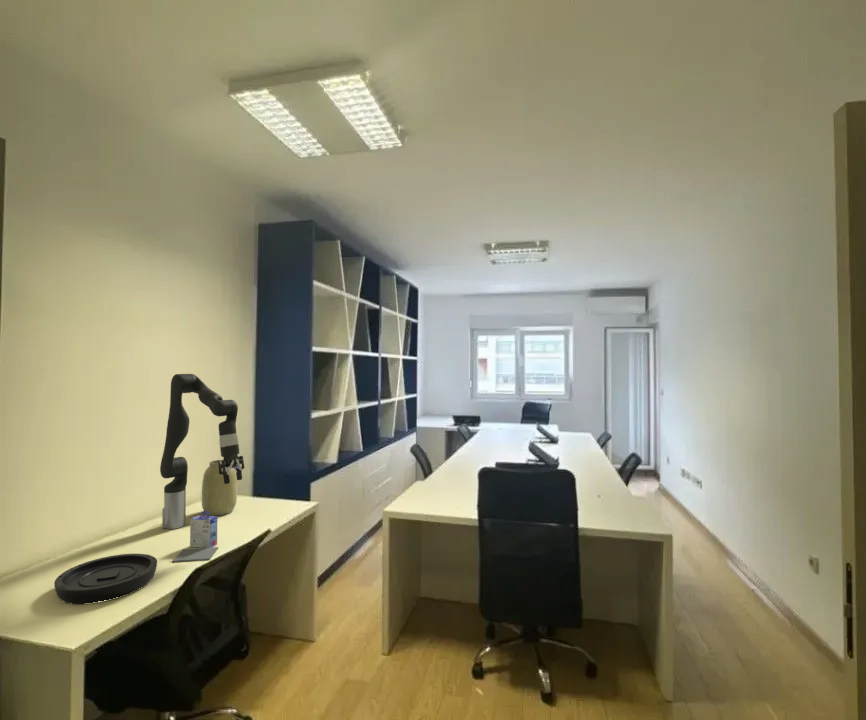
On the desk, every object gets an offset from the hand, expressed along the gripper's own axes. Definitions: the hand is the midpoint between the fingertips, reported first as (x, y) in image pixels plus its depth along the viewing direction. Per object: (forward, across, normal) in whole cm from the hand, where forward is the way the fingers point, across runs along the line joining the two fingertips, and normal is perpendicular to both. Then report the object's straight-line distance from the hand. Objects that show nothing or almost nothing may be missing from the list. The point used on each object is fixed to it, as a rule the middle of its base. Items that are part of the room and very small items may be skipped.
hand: (233, 481), depth 205 cm
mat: (+26, +12, -12) cm, 31 cm away
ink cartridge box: (+25, +3, -16) cm, 30 cm away
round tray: (+26, +42, -24) cm, 55 cm away
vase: (+19, -40, -40) cm, 59 cm away
